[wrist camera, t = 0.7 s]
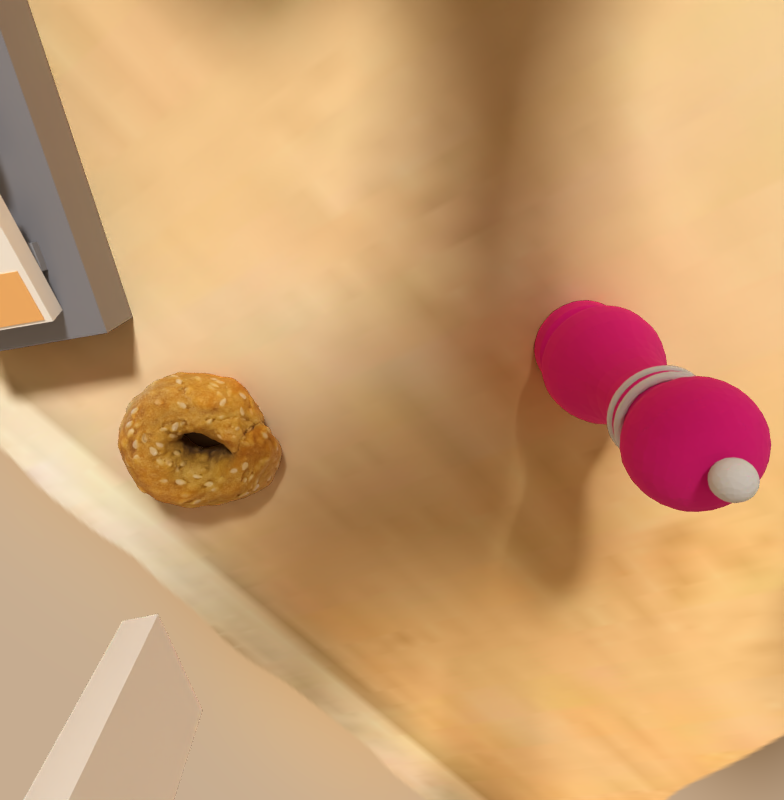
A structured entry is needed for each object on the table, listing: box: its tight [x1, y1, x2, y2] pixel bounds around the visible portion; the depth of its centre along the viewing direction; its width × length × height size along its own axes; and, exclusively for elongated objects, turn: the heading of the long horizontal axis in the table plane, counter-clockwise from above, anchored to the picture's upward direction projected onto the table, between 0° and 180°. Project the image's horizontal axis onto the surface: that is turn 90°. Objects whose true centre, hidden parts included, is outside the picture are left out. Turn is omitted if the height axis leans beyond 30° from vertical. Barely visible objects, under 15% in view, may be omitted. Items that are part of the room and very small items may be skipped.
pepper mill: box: [534, 300, 771, 512], centre depth 32 cm, size 7×7×20 cm
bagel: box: [118, 372, 282, 508], centre depth 41 cm, size 10×11×5 cm
